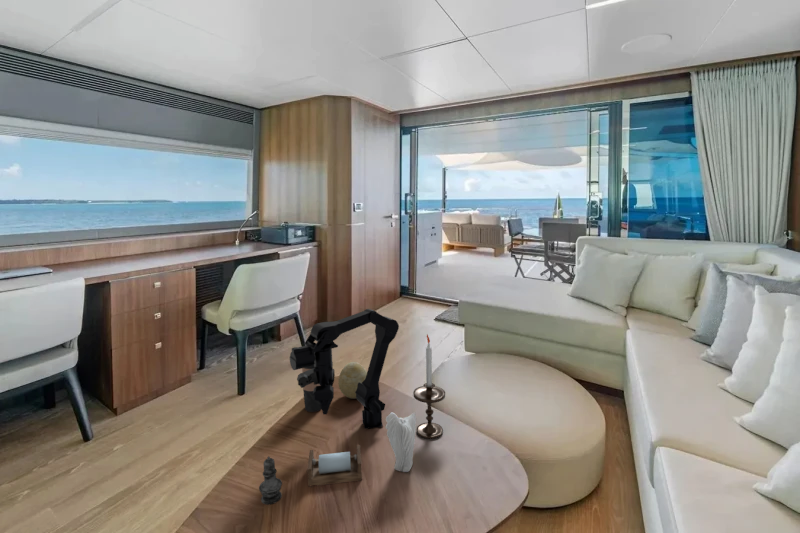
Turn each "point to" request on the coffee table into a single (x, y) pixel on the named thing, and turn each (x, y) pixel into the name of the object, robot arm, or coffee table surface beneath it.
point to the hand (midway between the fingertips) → (325, 407)
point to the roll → (334, 462)
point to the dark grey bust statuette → (270, 483)
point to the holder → (334, 477)
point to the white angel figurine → (402, 439)
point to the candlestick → (429, 400)
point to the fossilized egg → (351, 378)
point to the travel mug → (310, 394)
